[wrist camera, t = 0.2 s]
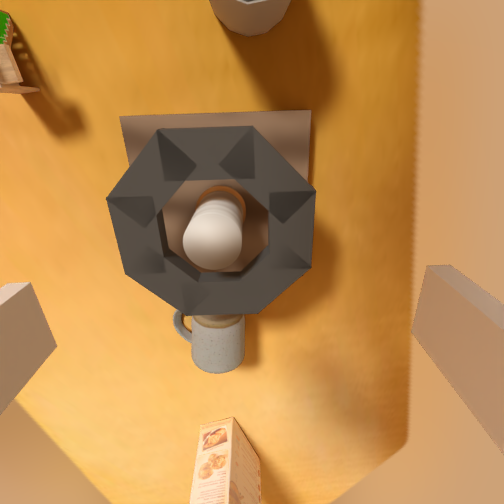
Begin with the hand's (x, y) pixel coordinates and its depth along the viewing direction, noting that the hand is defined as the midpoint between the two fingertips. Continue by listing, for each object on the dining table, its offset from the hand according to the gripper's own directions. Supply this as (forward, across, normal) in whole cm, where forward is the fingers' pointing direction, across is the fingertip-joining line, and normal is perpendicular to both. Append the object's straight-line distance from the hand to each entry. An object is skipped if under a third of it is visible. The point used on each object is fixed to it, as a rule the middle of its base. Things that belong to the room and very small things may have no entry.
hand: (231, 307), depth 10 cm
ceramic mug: (+28, -6, -22) cm, 36 cm away
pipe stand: (+28, -3, -4) cm, 28 cm away
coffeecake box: (+28, -5, -53) cm, 60 cm away
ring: (+19, -3, -4) cm, 19 cm away
